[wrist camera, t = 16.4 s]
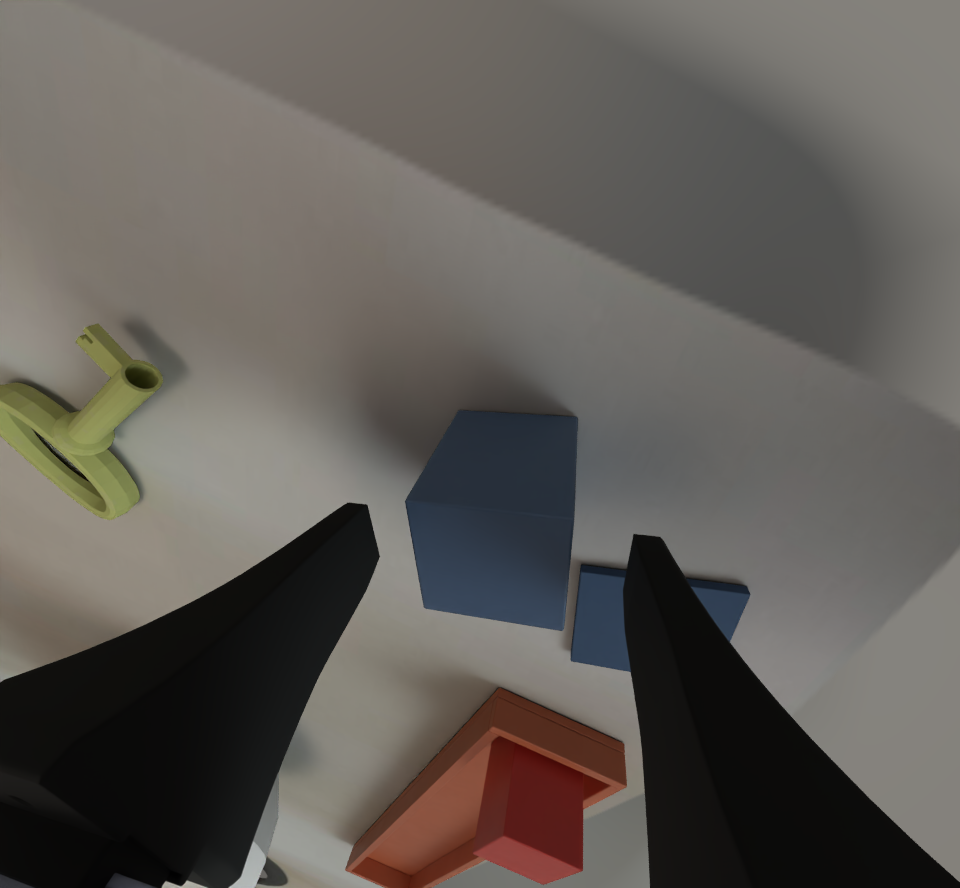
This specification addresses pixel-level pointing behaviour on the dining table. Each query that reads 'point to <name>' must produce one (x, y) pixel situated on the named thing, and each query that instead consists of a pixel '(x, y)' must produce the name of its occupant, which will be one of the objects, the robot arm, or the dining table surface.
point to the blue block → (497, 518)
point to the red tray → (475, 792)
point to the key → (82, 427)
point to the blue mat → (604, 614)
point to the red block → (530, 814)
